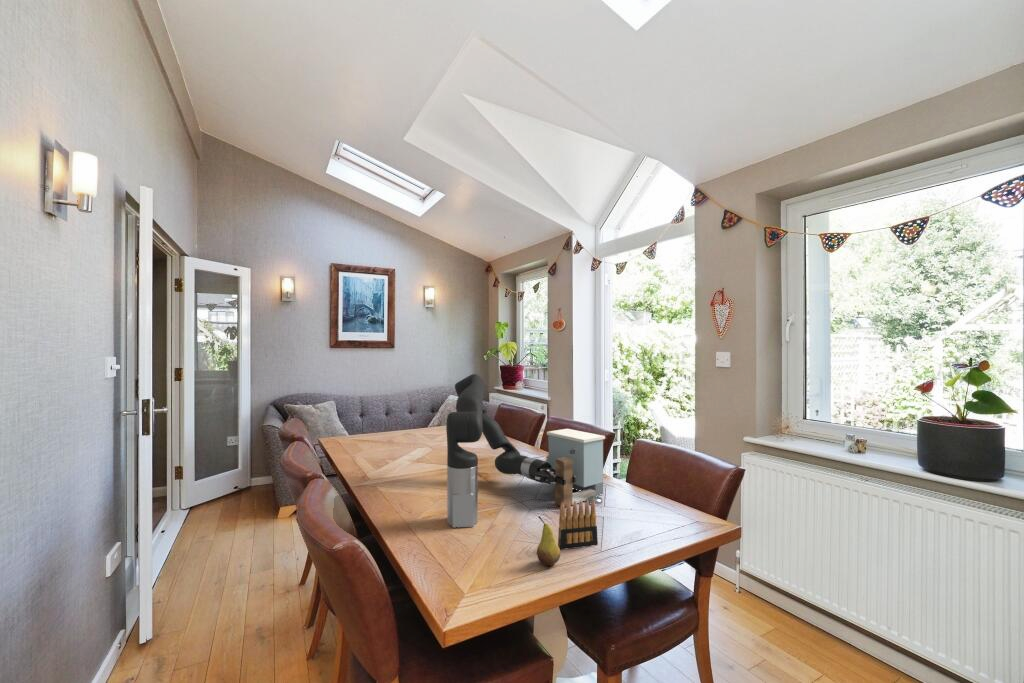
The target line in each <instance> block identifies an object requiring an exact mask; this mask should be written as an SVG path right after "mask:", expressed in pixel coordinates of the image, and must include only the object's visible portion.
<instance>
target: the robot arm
mask: <svg viewBox="0 0 1024 683" xmlns="http://www.w3.org/2000/svg"><path fill="white" fill-rule="evenodd" d="M454 390H455V392H456V395H457V400H456V403H455V404H456V405H455V409H456V410H455V411H451V412H449V413H448V415H447V416H446V426H445V427H446V428H445V430H446V444H447V446H446V448H447V452H446V453H447V457H446V458H447V461H446V462H447V465H446V466H447V468H446V471H447V472H446V475H447V477H446V487H447V488H446V493H447V494H446V496H447V497H446V503H447V504H446V510H447V512H446V513H447V514H446V516H447V517H446V518H447V520H446V521H447V525H449V526H451V528H453V529H455V528H456V527H457V528H471V527H474V525H476V524H478V522H479V521H478V520H479V518H478V516H479V513H478V512H479V506H478V505H479V503H478V502H479V501H478V498H479V496H478V492H479V489H478V487H479V485H478V484H479V483H478V482H479V478H478V477H479V476H478V473H479V472H478V471H479V465H478V464H479V459H478V458H479V456H478V455H477V454H475V452H472V451H470V450H469V451H468V450H467V449H464V448H463V447H461V446H460V445H459V443H461V444H463V443H465V444H466V443H472V444H473V443H476V442H479V441H480V440H481V438H482V435H483V436H484V438H485V439H486V441H487V444H488V445H489V447H490V448H491V449H492V450H493V451H494V450H498V449H502V450H504V452H502V453H500V454H499V455H497V456H496V457H495V459H494V466H495V468H496V470H497V471H499V473H501V474H504V475H520V476H523V477H525V478H527V479H530V480H532V481H534V482H537V483H540V484H548V485H551V484H552V483H553V484H554V485H555V484H556V483H558V484H561V485H566V479H565V478H562V477H559V476H556V468H553V467H551V465H550V464H549V463H548V462H546V460H543V459H539V458H536V457H530V456H526V455H522V454H521V453H520V451H519V450H518V449H517V448H516V446H514V445H513V443H511V442H510V440H509V439H508V438H507V437H506V435H505V433H504V431H503V429H502V427H501V426H500V423H498V422H497V421H496V419H494V418H493V417H491V416H489V415H487V414H485V413H484V412H483V408H484V397H485V394H486V391H487V390H486V384H485V381H484V379H483V378H482V377H481V376H480V375H478V374H476V373H473V374H470V375H467V376H466V377H465V378H463V379H461V380H459V381H457V382H456V383H455V385H454ZM575 482H576V477H575V476H574V475H573V483H575Z"/></svg>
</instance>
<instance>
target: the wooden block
mask: <svg viewBox="0 0 1024 683" xmlns="http://www.w3.org/2000/svg"><path fill="white" fill-rule="evenodd" d="M556 476H559V477H562V478H565V479H566V485H561V484H558V483H555V484H554V485H555V486H554V488H555V492H554V493H555V494H554V498H555V499H554V500H555V501H554V502H555V505H557V506H559V507H561V503H562V502H563V504H564V508H567V503H568V502H569V503H570V506H573V504H574V501H576V504H577V505H578V504H580V501H582V503H584V502H586V500H588V497H591V496H596V491H595V490H592V489H586V490H582V491H576V492H573V489H572V486H573V460H571V459H568V458H559V459H556ZM583 501H584V502H583Z"/></svg>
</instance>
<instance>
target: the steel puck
mask: <svg viewBox="0 0 1024 683" xmlns="http://www.w3.org/2000/svg"><path fill="white" fill-rule="evenodd" d="M592 500H594V502H595V504H601V503H602V502H603V498H602V497H600V496H597V497H596V496H591V497H588V503H592ZM602 504H603V503H602ZM602 504H601V505H602Z"/></svg>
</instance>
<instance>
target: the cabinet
mask: <svg viewBox="0 0 1024 683" xmlns="http://www.w3.org/2000/svg"><path fill="white" fill-rule="evenodd" d="M546 435H547V436H548V455H549V464H550V465H551V467H553V468H556V459H559V458H568V459H571V460H573V475H574V476H575V477H576V482H575V483H573V486H572V488H574V489H577V490H581V491H582V490H586V489H592V490H595V491H596V496H597V495H600V494H603V495H604V440H605V439H606V436H605V435H602V434H597V433H591V432H587V431H581V430H577V429H571V428H563V429H556V430H550V431H546ZM574 489H573V490H574ZM577 490H576V491H577ZM600 496H601V495H600ZM597 497H598V496H597Z"/></svg>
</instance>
